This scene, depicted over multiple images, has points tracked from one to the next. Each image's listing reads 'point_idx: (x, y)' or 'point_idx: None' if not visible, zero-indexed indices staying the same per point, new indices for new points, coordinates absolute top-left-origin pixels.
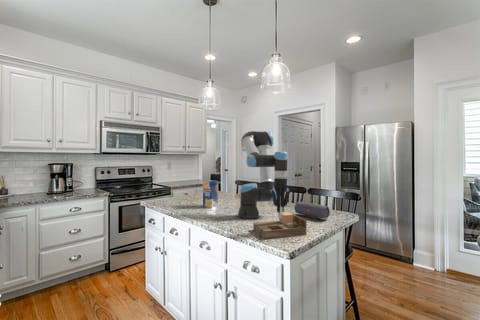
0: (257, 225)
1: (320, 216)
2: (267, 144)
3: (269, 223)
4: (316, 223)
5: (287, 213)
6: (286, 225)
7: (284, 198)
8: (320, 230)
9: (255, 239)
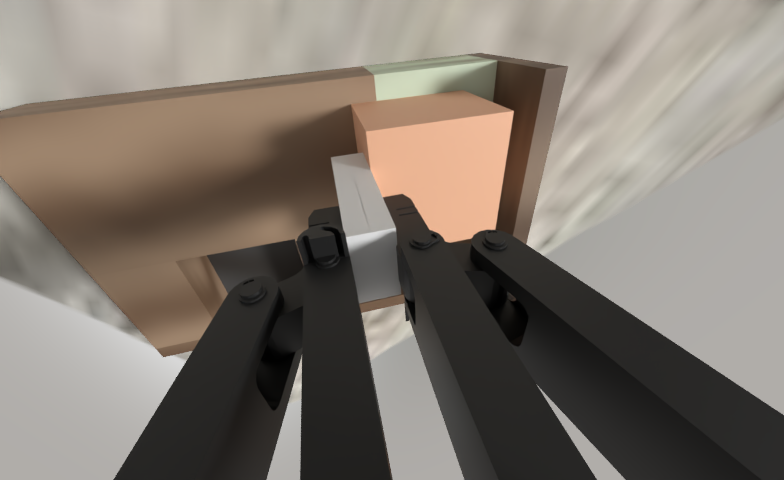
0: (60, 231)
1: None
2: None
3: (213, 178)
4: (725, 24)
5: (465, 179)
6: None
7: (587, 348)
8: (587, 199)
9: (111, 318)
